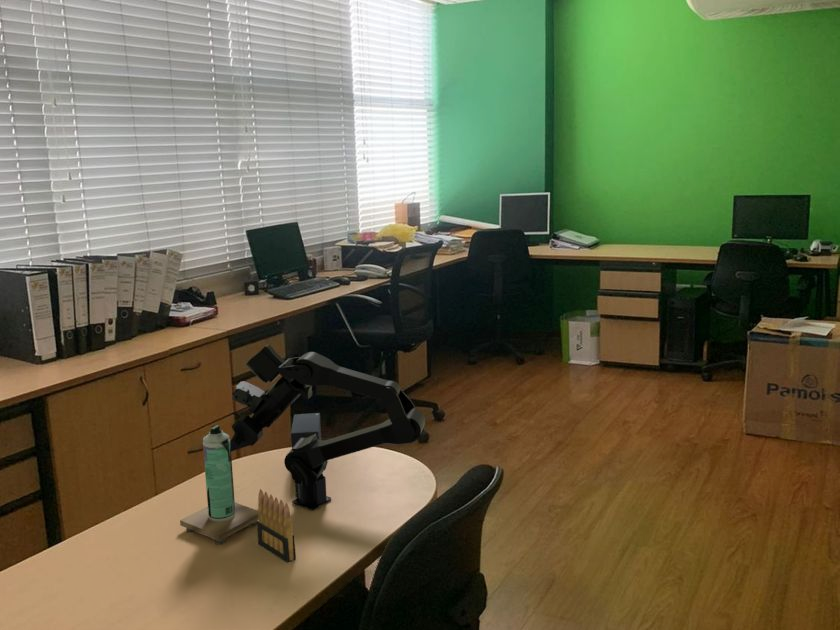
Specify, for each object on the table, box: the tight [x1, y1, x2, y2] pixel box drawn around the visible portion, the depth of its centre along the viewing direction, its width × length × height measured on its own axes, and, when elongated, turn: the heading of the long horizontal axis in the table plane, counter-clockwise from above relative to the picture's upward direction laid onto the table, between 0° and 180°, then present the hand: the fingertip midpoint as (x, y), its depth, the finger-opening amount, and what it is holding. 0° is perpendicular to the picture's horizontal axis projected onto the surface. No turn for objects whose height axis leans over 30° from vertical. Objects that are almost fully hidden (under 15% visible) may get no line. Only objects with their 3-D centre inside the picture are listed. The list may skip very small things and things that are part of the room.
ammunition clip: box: [256, 488, 297, 564], centre depth 153 cm, size 11×2×12 cm, turn 44°
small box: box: [290, 412, 322, 449], centre depth 193 cm, size 13×7×12 cm, turn 6°
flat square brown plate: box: [179, 502, 259, 545], centre depth 164 cm, size 12×12×2 cm
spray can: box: [202, 424, 236, 522], centre depth 162 cm, size 6×6×20 cm
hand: (235, 442), depth 175 cm, fingers open, 9 cm apart
